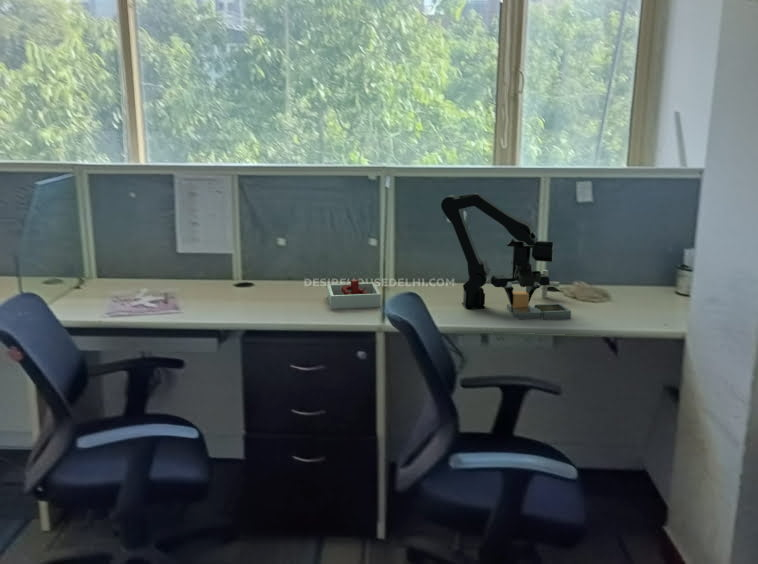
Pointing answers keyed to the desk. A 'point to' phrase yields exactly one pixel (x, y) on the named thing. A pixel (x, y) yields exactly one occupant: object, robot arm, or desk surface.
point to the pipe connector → (544, 288)
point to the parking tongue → (513, 307)
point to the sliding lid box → (543, 312)
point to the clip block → (520, 299)
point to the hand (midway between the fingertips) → (519, 305)
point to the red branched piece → (353, 288)
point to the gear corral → (353, 297)
